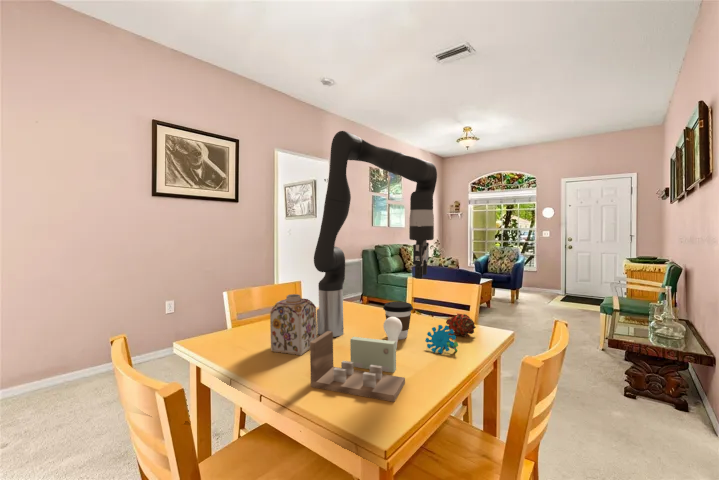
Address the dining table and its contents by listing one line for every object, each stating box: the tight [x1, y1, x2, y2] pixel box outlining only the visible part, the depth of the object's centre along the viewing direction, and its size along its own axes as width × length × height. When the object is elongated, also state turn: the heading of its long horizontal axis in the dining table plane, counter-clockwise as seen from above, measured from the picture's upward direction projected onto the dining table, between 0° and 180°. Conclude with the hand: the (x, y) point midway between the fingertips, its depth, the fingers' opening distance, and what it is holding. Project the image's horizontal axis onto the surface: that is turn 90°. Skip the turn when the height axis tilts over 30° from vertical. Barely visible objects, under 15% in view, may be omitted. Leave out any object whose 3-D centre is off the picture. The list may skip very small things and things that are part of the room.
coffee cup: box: [383, 301, 414, 340], centre depth 125 cm, size 11×11×12 cm
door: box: [349, 336, 397, 373], centre depth 97 cm, size 13×4×8 cm, turn 68°
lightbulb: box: [382, 317, 402, 350], centre depth 112 cm, size 6×6×11 cm
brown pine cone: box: [445, 313, 477, 337], centre depth 127 cm, size 8×8×12 cm
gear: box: [425, 324, 459, 354], centre depth 112 cm, size 11×6×10 cm
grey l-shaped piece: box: [309, 331, 406, 403], centre depth 87 cm, size 22×10×12 cm, turn 68°
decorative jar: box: [269, 293, 318, 356], centre depth 115 cm, size 12×12×18 cm
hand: (421, 276), depth 107 cm, fingers open, 8 cm apart
